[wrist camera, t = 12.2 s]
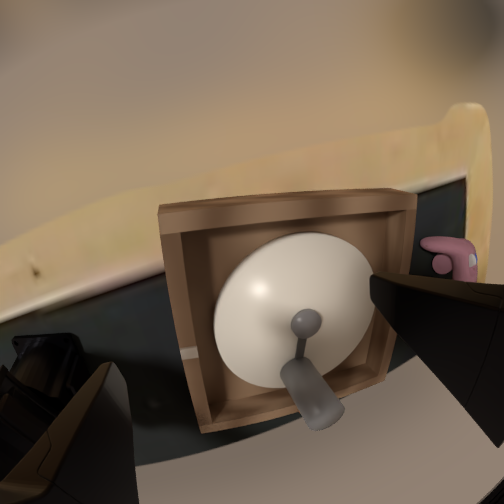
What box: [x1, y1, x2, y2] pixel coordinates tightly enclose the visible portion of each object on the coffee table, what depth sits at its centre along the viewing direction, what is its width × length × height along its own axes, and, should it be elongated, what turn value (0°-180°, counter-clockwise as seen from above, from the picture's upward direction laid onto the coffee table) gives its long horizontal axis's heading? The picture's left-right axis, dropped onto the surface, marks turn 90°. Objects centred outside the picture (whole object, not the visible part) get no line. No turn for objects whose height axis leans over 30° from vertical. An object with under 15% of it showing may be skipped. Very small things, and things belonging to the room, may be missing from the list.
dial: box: [213, 231, 375, 431], centre depth 21 cm, size 14×14×7 cm
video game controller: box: [420, 236, 477, 282], centre depth 27 cm, size 10×5×7 cm, turn 6°
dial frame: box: [158, 188, 417, 434], centre depth 23 cm, size 19×19×4 cm
